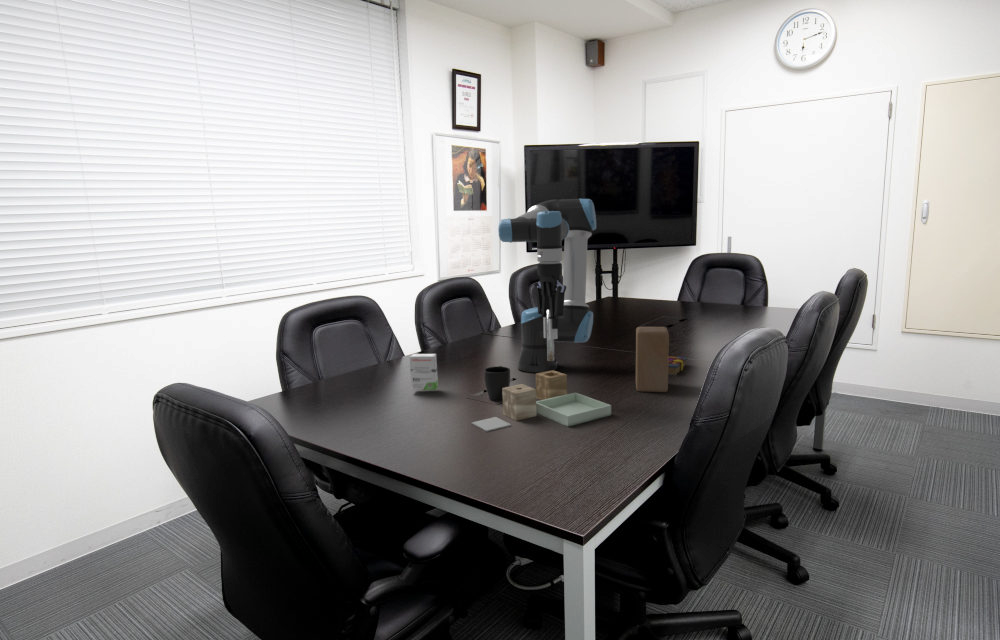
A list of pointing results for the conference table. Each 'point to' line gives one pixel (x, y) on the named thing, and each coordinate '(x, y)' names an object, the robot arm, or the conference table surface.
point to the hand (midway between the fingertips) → (550, 338)
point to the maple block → (519, 402)
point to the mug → (496, 381)
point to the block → (652, 359)
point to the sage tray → (572, 409)
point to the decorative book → (675, 364)
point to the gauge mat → (491, 424)
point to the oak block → (550, 384)
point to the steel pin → (549, 341)
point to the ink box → (423, 372)
